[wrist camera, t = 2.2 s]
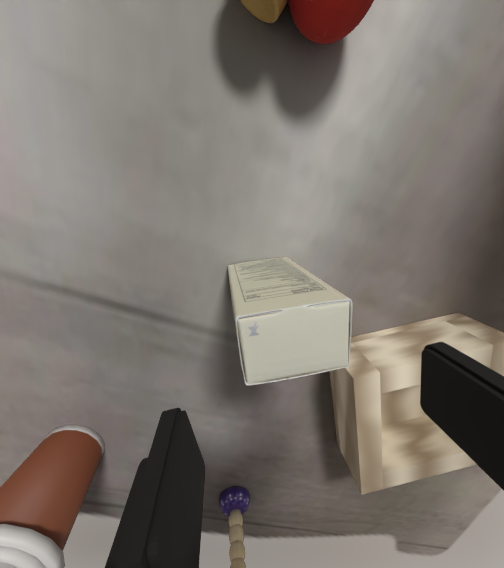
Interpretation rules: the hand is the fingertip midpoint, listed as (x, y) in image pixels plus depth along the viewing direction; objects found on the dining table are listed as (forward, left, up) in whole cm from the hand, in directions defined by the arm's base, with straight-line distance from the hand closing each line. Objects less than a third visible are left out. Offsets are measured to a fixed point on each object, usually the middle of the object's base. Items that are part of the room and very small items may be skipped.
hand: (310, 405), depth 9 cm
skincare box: (0, 0, -16) cm, 16 cm away
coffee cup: (+25, +15, -16) cm, 33 cm away
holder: (-14, +17, -16) cm, 27 cm away
